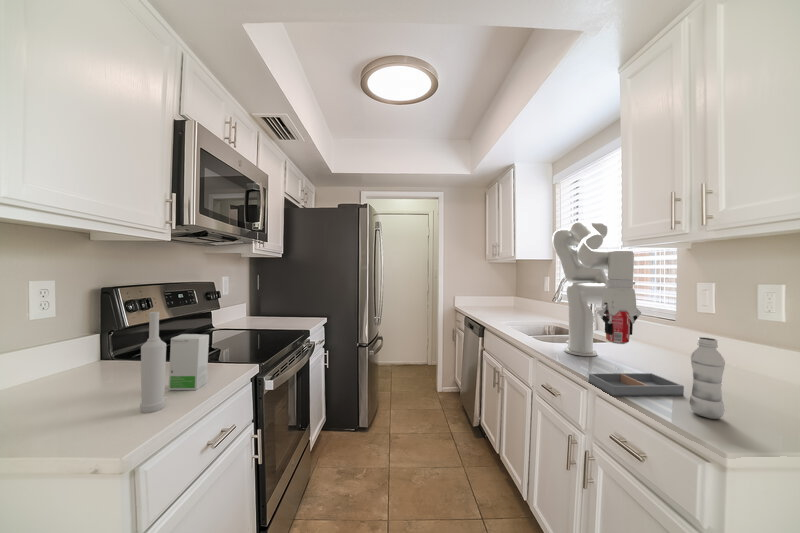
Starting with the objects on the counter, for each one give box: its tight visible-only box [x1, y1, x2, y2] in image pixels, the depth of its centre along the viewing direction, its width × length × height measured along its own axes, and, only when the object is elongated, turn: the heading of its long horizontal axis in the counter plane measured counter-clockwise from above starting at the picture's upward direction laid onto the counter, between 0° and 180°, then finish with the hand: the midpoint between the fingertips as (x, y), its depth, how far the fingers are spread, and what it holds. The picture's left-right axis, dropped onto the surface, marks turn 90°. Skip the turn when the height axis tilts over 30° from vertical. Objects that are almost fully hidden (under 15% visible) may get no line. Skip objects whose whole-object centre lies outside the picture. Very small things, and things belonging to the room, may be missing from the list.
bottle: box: [139, 311, 167, 414], centre depth 81 cm, size 5×5×25 cm
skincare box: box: [167, 333, 210, 391], centre depth 96 cm, size 8×7×16 cm
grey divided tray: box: [588, 372, 685, 398], centre depth 98 cm, size 11×22×3 cm, turn 93°
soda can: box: [605, 310, 631, 345], centre depth 112 cm, size 7×7×12 cm
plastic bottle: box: [689, 336, 726, 420], centre depth 80 cm, size 6×7×20 cm
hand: (618, 333), depth 112 cm, fingers closed on soda can, 6 cm apart
